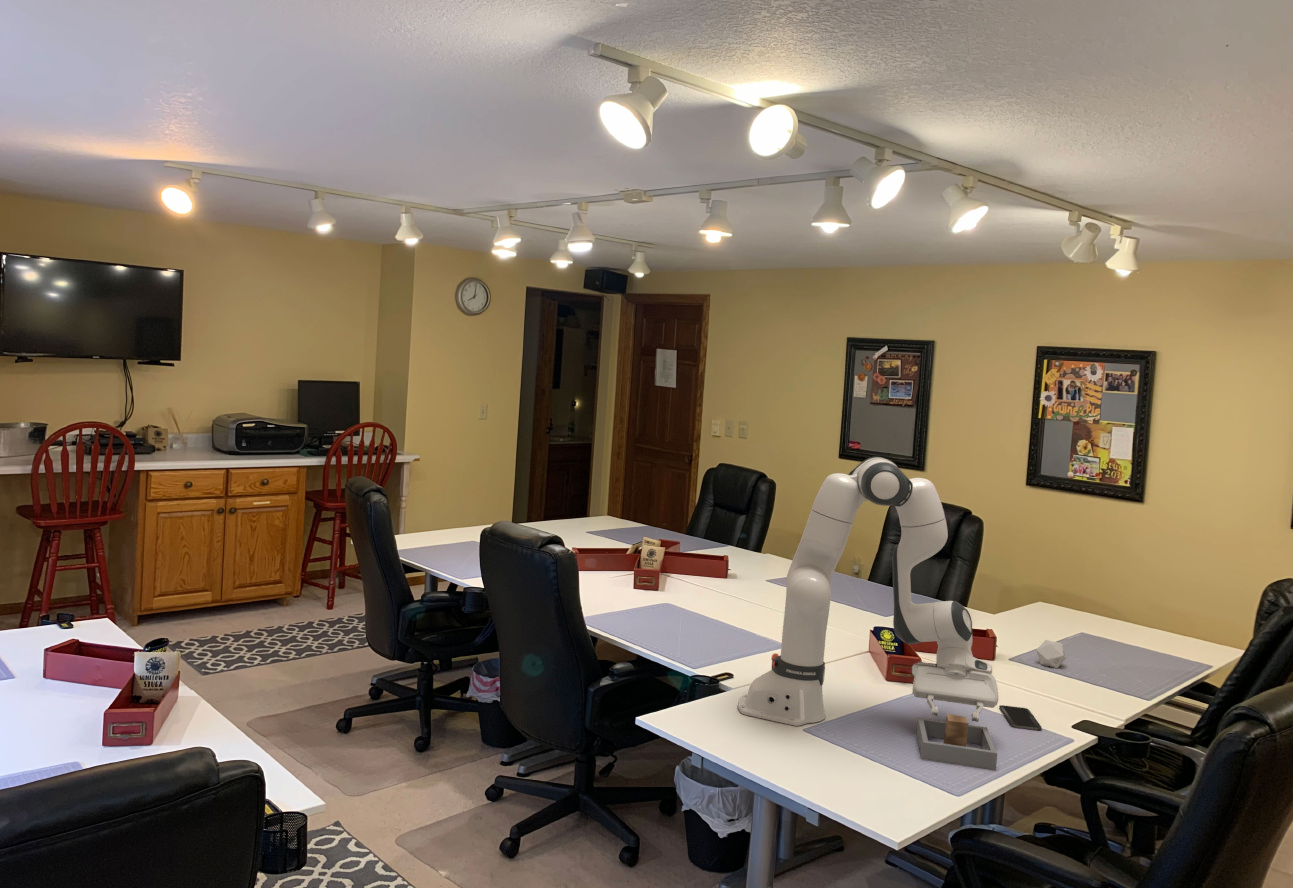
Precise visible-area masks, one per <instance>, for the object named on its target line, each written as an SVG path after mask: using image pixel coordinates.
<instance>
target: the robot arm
mask: <svg viewBox="0 0 1293 888" xmlns="http://www.w3.org/2000/svg"><path fill="white" fill-rule="evenodd" d="M867 501H869V502H870V503H873V504H875V505H878V506H885V507H894V508H895V510H896V513H897V515H898V519H899V525H900V527H901V528H900V529H901V530H900V531H901V535H900V540H899V543H897V544H896V545H895V546H894V548H893V552H892V558H891V559H892V562H891V563H892V591H893V620H892V626H893V631H894V634H895V636H896V638H898V639H900V641H902V642H903V643H905V644H907V645H916V644H922V643H925V642H927V643H928V642H936V643H937V650H936V656H935V657H936V658H935V660H936V663H933V662H923V661H918V662H916V663H914V664H913V665H912V666H911V674H912V676H913V677H914V678H913V682H912V691H911V692H912V694H913V696H914V698H919V699H925V700H926V703H927V706H928V707H929V708H930V709H931V711H930V714H931V716H935V717H936V716H937V717H938V716H939V706H936V705H935V704H934V701H941V702H947V703H956V704H960V705H969V706H975V710H976V711H971V712H972V713H971V722H977V723H978V722H979V720H980V716H979V715H980V714H981V712H982V711H983V708H991V709H994V708H995V707H996V706H997V705H998V703H999V691H998V690H999V688H998V684H997V680H996V677H994V675H993V674H992V673H993V665H992V664H990V663H988V662H986V661H983V660H981V659H978V658H976V657H974V655H973V652H972V646H973V620H972V617H971V613H970V612H969V611H968V609H967V608H966V607H965V606H963V605H962V604H961V603H959V602H958V601H956V600H945V601H944V600H943V601H935V602H925V603H914V602H913V601H912V588H911V587H912V585H911V584H912V583H911V572H912V569H913V568H914V567H915V566H917V565H918V564H920V563H921V562H924V561H925V560H928V559H930V558H931V557H933V556H934V555H937V553H939V552H940V551H941V550H942V549H943V547H945V545H946V543H947V540H948V537H949V535H948V532H949V531H948V525H947V519H946V516H945V510H944V508H943V504H942V502H941V499H940V495H939V493H938V490H937V488H936V486H935V484H934V483H933V482H932V481H931V480H929V479H927V478H923V477H913V478H912V477H911V478H908V477H907V475H906V474H905V473H904V472H903V470H901V469H900V468H899V467H898V466H897V465H896V463H895V462H893V461H892V460H889V459H887V458H884V457H882V456H872V457H868V458H865V459H864V460H863V461H861V462H860V463H858V464H857V466H856V467H854V469H852V470H851V471H850V472H849V473H848V474H847V473H842V472H840V473H839V472H836V473H831V474H829V475H827V476H826V478H825V479H824V481H823V483H822V484H821V486H820V488H819V490H818V492H817V494H816V496H815V499H814V501H813V503H812V506H811V508H810V509H811V510H810V512H809V514H808V518H807V521H806V524H805V527H804V530H803V533H802V535H801V538H800V540H799V543H798V545H797V548H796V551H795V553H794V555H793V558H792V560H791V564H790V566H789V569H788V572H787V574H786V578H785V579H786V580H785V581H786V585H785V586H786V592H785V602H784V603H785V606H784V615H783V616H784V617H783V622H782V623H783V625H782V636H781V647H780V655H779V653H772V654H771V669H770V670H769V671H767V672H765V673H763V674H761V675H760V676H757V677H756V678H755V679H754V680H752V682H751V684H750V685H749V688H748V691H747V693H746V694H744V695H743V696H741V697H740V698H739V700H738V704H737V710H738V712H740V713H741V714H742V715H745V716H749V717H754V718H759V719H763V720H768V721H773V722H777V723H782V724H785V725H790V726H797V727H798V726H802V725H805V724H811V723H812V724H813V723H818V722H820V721H821V722H822V721H824V719H825V718H826V712H825V706H824V699H823V696H824V695H823V685H824V682H825V674H826V663H825V661H824V660H825V659H824V658H825V647H826V637H827V630H828V629H827V627H828V622H829V621H828V620H829V616H830V614H829V613H830V606H831V597H832V588H831V580H832V577H833V575H834V573H835V570H836V568H837V565H838V563H839V562H840V559H841V558H842V555H843V553H844V551H845V548H846V545H847V542H848V540H849V536H850V535H851V534H850V533H851V531H852V528H853V525H854V522H855V518H856V516H857V512H858V511H859V508H860V506H862V505H863V504H864V503H865V502H867Z"/></svg>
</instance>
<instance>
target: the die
mask: <svg viewBox="0 0 1293 888" xmlns="http://www.w3.org/2000/svg"><path fill="white" fill-rule="evenodd" d="M1036 655H1037V657H1038V661H1039V664H1040V665H1041V666H1045V667H1049V666H1050V668H1054V669H1058V668H1059V667H1060V666H1061V665H1062V664H1063V663H1064V661H1066V660H1067V656H1066V653H1065V649H1064V645H1063V643H1062V642H1056V641H1054V640H1053V641H1052V640H1049V639H1048V640H1047V639H1045V640H1044V641H1043V642H1042V643H1041V644H1039V646H1038V647H1037V648H1036Z"/></svg>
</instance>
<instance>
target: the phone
mask: <svg viewBox="0 0 1293 888" xmlns="http://www.w3.org/2000/svg"><path fill="white" fill-rule="evenodd" d="M998 710H999V711H1000V713H1001V715H1002V716H1003V718H1004V719H1005V721H1006V723H1008V725H1009V726H1010V727H1011V728H1012V729H1019V730H1028V731H1036V732H1041V731H1042V730H1043V729H1042V725H1041V724H1040V722H1039V721H1038V720H1037V719H1036V717H1035V715H1033V713H1032V712H1031V711H1030V709H1028V708H1026V707H1020V706H1011V705H1001V704H1000V705H999V706H998Z"/></svg>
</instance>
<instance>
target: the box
mask: <svg viewBox="0 0 1293 888" xmlns="http://www.w3.org/2000/svg"><path fill="white" fill-rule="evenodd" d="M945 725H946V720H945V721H944V720H936V719H930V718H923V717H917V726H916V737H917V741H918V746H919V752H920V756H921V757H920V758H921V760H927V761H931V762H932V761H933V762H939V763H947V764H952V765H958V766H959V765H960V766H967V767H973V768H979V769H986V770H992V771H996V770H997V761H998V751H997V749H996V745H994V741H993V739H992V737H991V734H990V732H989V729H988V727H986V726H980V725H972V724H968V732H967V742H966V743H970V744H976V745H980V746H981V748H977V747H969V746H966V747H964V746H957V745H950V744H944V742H943V743H942V742H935V741H930V740H928V737H929V738H936V739H942V738H943V740H944V735H945Z"/></svg>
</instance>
